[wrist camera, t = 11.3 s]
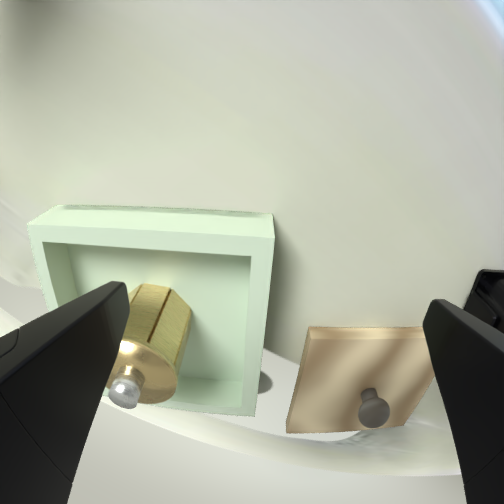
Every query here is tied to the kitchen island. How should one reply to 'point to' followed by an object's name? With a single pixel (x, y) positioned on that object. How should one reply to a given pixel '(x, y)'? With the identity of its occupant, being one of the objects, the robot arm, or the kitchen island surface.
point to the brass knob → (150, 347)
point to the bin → (173, 284)
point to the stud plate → (359, 379)
